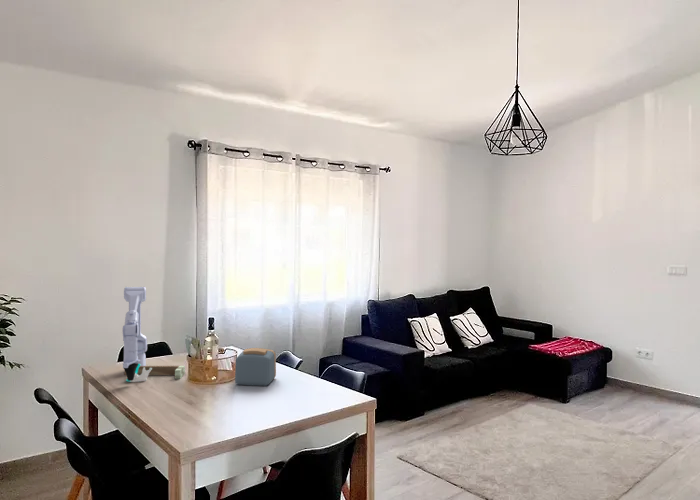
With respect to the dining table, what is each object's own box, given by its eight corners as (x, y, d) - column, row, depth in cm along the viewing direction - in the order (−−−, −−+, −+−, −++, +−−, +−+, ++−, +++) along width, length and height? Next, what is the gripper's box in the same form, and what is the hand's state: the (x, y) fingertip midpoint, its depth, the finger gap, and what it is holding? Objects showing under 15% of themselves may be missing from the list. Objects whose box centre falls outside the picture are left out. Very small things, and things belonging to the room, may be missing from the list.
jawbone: (118, 379, 252) (125, 359, 255) (132, 382, 258) (139, 363, 261) (133, 382, 245) (140, 363, 248) (147, 386, 251) (154, 366, 254)
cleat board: (125, 374, 264) (125, 366, 264) (184, 373, 266) (184, 365, 266) (118, 379, 254) (119, 370, 254) (180, 378, 256) (180, 370, 256)
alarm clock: (276, 377, 260) (277, 345, 260) (268, 387, 244) (268, 352, 243) (244, 376, 262) (244, 344, 261) (233, 385, 245) (233, 351, 245)
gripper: (134, 353, 236) (134, 384, 237) (144, 347, 251) (144, 375, 251) (117, 353, 236) (117, 384, 236) (129, 347, 250) (129, 376, 251)
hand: (130, 380), depth 244 cm, fingers closed
